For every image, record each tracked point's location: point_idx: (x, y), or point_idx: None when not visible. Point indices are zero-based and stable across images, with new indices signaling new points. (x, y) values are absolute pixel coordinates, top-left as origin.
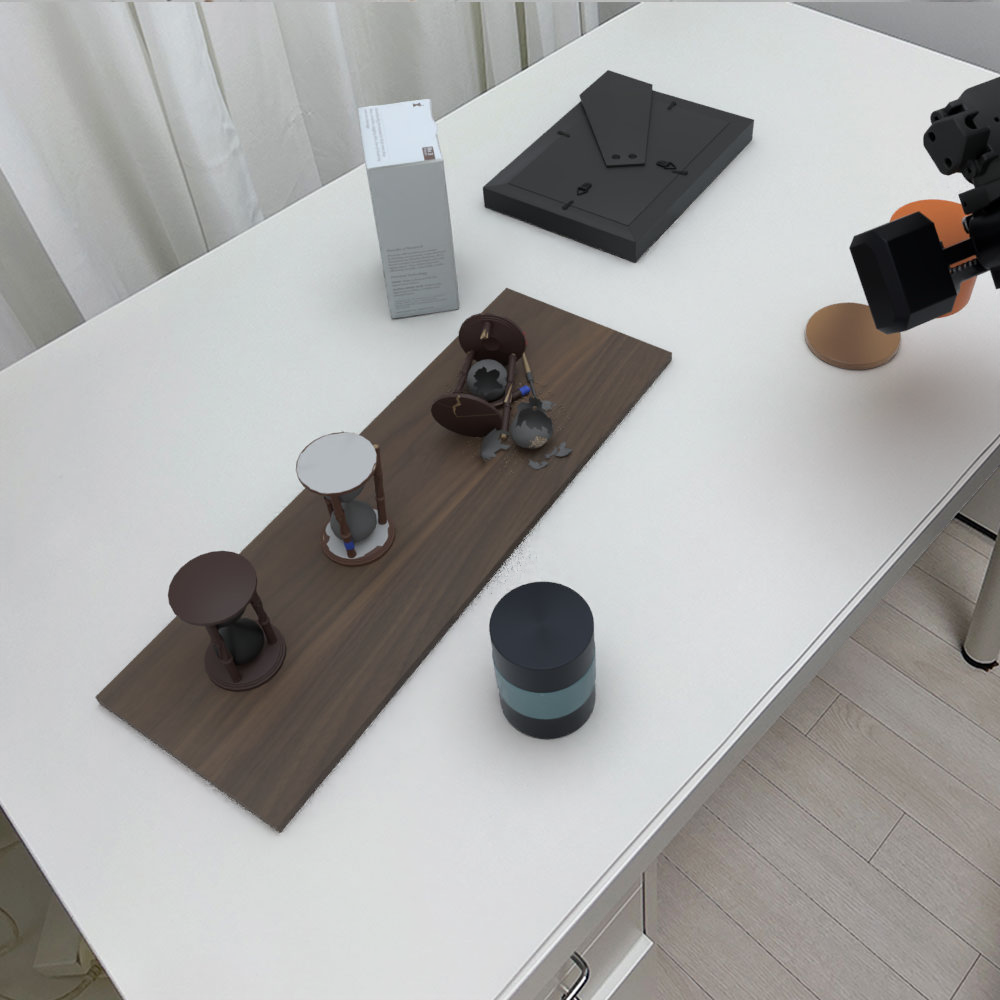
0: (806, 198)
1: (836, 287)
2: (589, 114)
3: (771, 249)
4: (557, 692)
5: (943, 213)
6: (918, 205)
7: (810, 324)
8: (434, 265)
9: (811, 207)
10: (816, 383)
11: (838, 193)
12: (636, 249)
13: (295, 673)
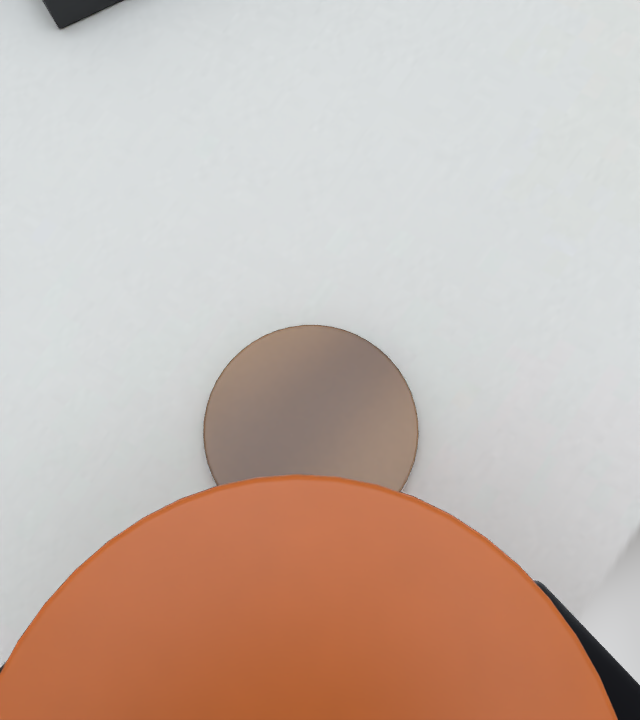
0: (486, 16)
1: (380, 274)
2: None
3: (328, 114)
4: None
5: (424, 688)
6: (332, 527)
7: (242, 359)
8: None
9: (480, 43)
10: None
11: (557, 32)
12: (47, 1)
13: None
